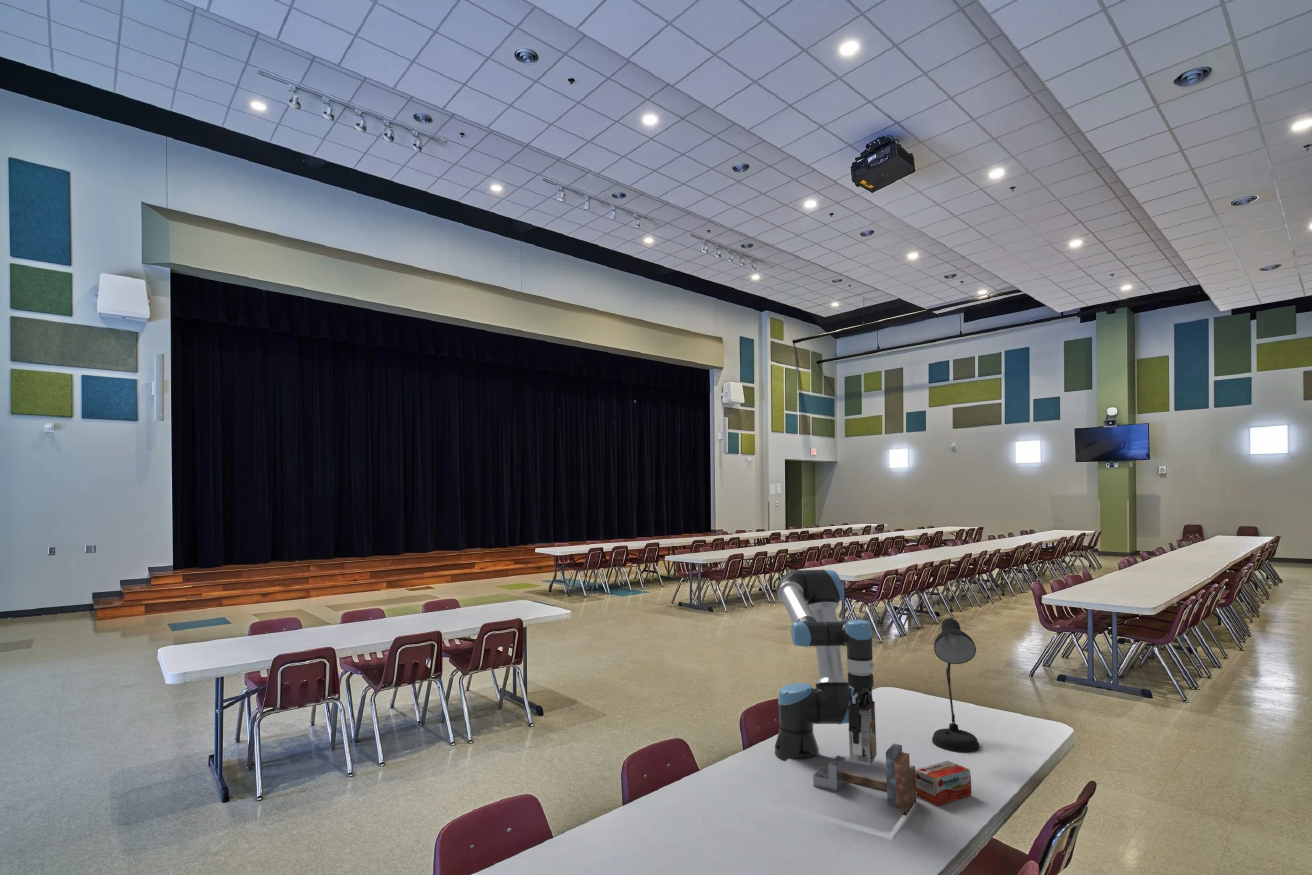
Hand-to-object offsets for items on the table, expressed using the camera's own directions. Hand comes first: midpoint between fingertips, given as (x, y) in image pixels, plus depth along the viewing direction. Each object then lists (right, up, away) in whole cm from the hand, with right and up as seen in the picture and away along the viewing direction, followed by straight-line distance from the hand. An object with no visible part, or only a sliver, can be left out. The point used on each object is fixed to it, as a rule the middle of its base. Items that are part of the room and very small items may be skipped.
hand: (863, 748), depth 201 cm
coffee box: (0, -3, 0) cm, 3 cm away
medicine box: (+24, -14, -1) cm, 28 cm away
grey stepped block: (-9, -13, +5) cm, 17 cm away
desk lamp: (+46, -17, +40) cm, 63 cm away
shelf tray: (0, -14, 0) cm, 14 cm away
